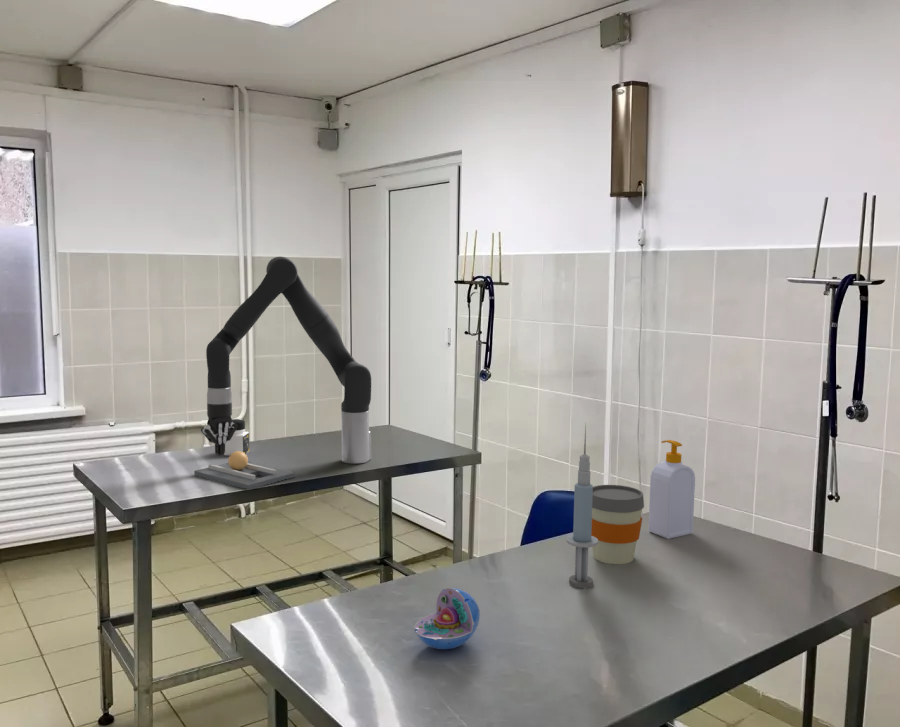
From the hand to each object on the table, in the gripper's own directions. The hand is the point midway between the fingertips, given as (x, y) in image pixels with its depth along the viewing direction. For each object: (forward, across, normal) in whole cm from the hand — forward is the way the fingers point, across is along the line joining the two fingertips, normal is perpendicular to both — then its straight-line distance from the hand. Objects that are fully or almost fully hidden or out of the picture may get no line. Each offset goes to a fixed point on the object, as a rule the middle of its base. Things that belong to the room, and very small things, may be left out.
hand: (220, 454), depth 243 cm
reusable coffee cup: (+4, +7, -132) cm, 132 cm away
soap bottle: (+4, +31, -136) cm, 139 cm away
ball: (+1, 0, -8) cm, 9 cm away
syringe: (+5, -11, -132) cm, 133 cm away
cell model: (+5, -49, -126) cm, 136 cm away
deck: (+5, 0, -12) cm, 13 cm away
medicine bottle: (+5, +18, +15) cm, 25 cm away
